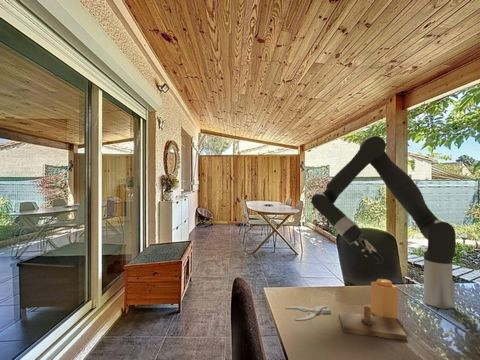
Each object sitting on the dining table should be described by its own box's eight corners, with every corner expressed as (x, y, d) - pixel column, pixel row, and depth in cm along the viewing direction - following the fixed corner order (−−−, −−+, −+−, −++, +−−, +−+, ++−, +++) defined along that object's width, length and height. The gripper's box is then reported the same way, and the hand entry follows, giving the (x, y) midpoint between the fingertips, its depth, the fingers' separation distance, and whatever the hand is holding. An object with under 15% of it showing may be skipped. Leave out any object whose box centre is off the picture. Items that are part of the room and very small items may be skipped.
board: (394, 322, 92) (394, 303, 92) (406, 340, 82) (407, 318, 82) (338, 315, 96) (339, 297, 96) (343, 332, 86) (343, 311, 86)
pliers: (285, 304, 102) (321, 301, 105) (285, 308, 102) (321, 306, 105) (296, 317, 92) (336, 313, 95) (296, 322, 92) (336, 318, 95)
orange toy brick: (384, 310, 101) (385, 277, 101) (397, 318, 95) (397, 283, 96) (370, 311, 100) (371, 278, 100) (382, 319, 94) (383, 284, 94)
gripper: (350, 222, 105) (383, 257, 96) (359, 224, 116) (391, 255, 107) (336, 235, 107) (367, 270, 98) (347, 236, 118) (376, 267, 109)
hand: (379, 262), depth 103 cm, fingers open, 8 cm apart
